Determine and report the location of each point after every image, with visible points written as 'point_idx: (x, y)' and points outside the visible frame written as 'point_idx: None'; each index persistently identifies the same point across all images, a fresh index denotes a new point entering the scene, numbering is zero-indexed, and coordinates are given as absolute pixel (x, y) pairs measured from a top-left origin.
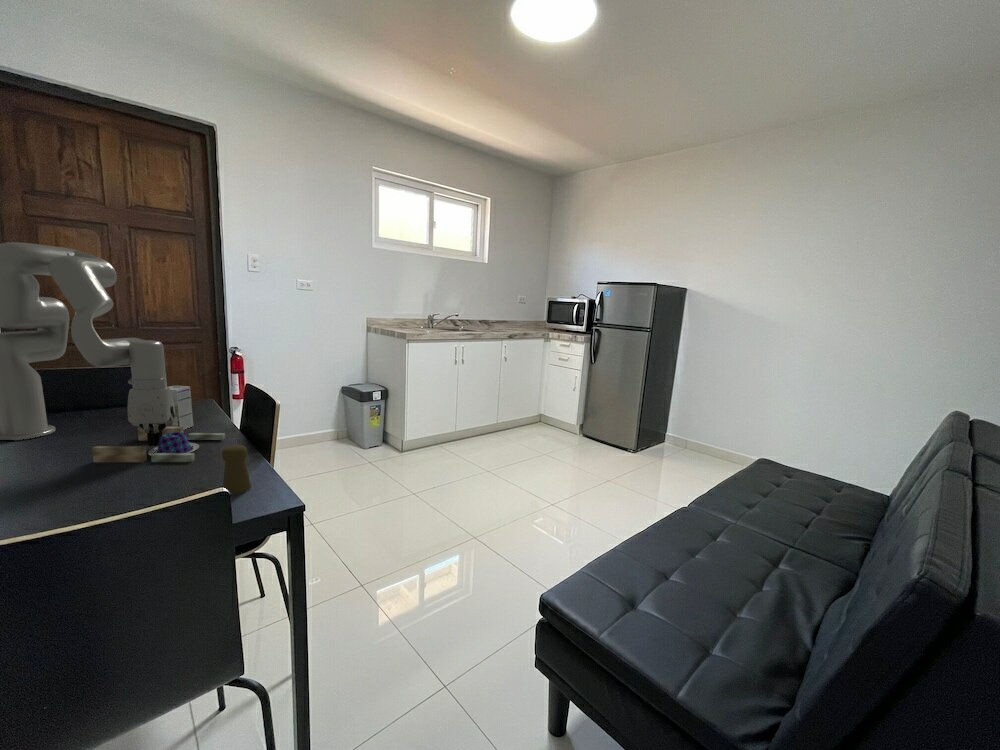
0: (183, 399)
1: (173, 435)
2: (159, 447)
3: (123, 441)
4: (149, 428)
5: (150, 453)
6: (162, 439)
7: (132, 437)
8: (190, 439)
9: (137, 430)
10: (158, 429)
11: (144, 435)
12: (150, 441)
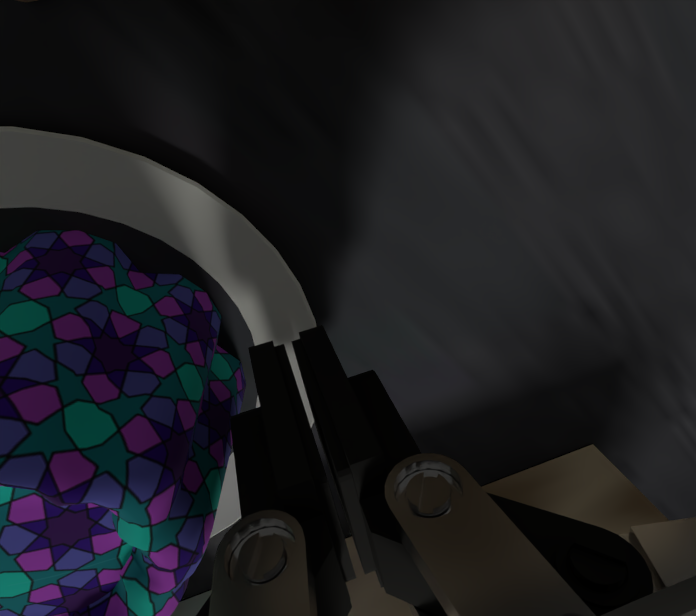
0: None
1: (62, 589)
2: (142, 327)
3: (678, 395)
4: (418, 564)
5: (223, 231)
6: (3, 418)
7: (660, 463)
8: (197, 607)
9: (664, 516)
10: (209, 612)
11: (579, 496)
12: (314, 367)
